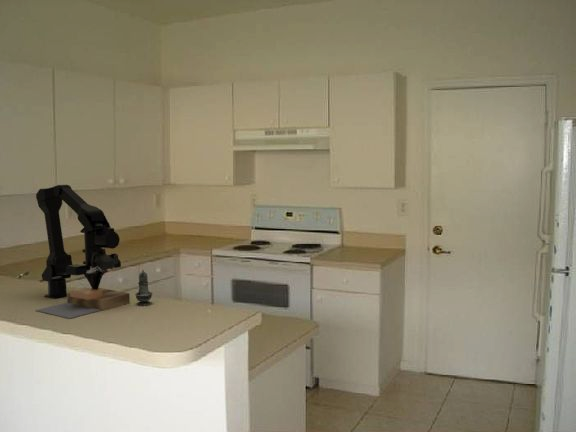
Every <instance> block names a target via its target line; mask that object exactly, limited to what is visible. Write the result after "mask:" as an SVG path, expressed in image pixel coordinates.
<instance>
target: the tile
mask: <svg viewBox="0 0 576 432" xmlns="http://www.w3.org/2000/svg"><path fill="white" fill-rule="evenodd" d="M69 293H70V297H76V298H81V299H86V300H89V299H93V298H97V297H101V296H103V295H102V290H98V289H92V287H80V288H77V289H71V290H70V291H69Z"/></svg>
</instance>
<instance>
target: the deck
mask: <svg viewBox="0 0 576 432" xmlns="http://www.w3.org/2000/svg"><path fill="white" fill-rule="evenodd" d="M98 290H102V295H103V296H101V297H97V298H93V299H89V300H86V299H81V298H76V297H70V292H69V293H68V292H67V296H66V298H67V302H66V303H71V304H76V305H81V306H86V307H90V308H95V309H100V310H101V311H100V312H102V311H106V310H108V309H109V310H110V309H113V308H117V307H120V306H123V305H127V304H130V303H131V302H130V298H131V297H130V292H124V291H118V290H114V289H106V288H102V287H98Z"/></svg>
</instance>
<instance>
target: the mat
mask: <svg viewBox="0 0 576 432" xmlns="http://www.w3.org/2000/svg"><path fill="white" fill-rule="evenodd" d="M35 312H38V313H43V314H46V315H51V316H55V317H59V318H64V319H68V320H71V319H75V318H79V317H83V316H86V315H90V314H94V313H99V312H102V311H101V310H100V309H95V308H90V307H86V306H81V305H76V304H71V303H67V302H65V303H59V304H56V305H51V306H47V307H44V308H43V307H42V308H39V309H36V310H35Z"/></svg>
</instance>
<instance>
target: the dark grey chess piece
mask: <svg viewBox="0 0 576 432" xmlns="http://www.w3.org/2000/svg"><path fill="white" fill-rule="evenodd" d="M137 284H138V288H139V289H138V292H136V293H135V294H134V296H135V297H136V300H137V301H138V302H137V303H136V304H135V305H136V306H139V307H145V306H146V307H147V306H150V305H152V304H153V303H152V302H151V301H150V300H152V296H153V292H150V290H149V281H148V273H147V272H146V271H144V269H142V271H141V272H140V273H139V274H138V282H137Z"/></svg>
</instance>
